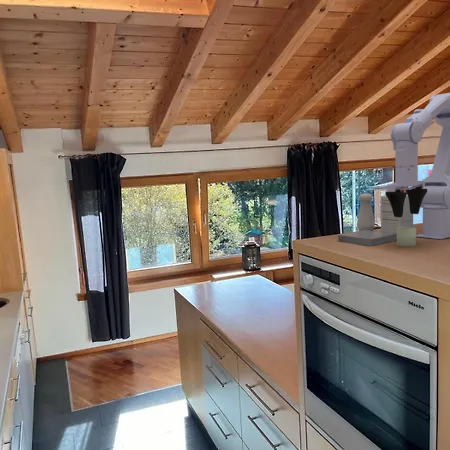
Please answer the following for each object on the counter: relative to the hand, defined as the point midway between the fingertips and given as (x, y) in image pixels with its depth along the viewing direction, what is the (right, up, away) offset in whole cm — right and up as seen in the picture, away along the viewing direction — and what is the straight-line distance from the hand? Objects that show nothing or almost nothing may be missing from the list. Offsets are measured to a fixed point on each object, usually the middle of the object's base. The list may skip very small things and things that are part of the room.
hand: (406, 215), depth 121 cm
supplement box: (+5, -6, +19) cm, 21 cm away
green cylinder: (+1, -8, +1) cm, 8 cm away
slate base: (-8, -8, +10) cm, 15 cm away
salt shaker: (-3, -5, +26) cm, 27 cm away
